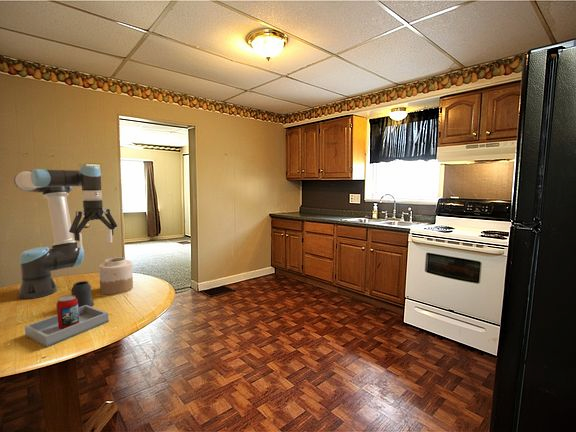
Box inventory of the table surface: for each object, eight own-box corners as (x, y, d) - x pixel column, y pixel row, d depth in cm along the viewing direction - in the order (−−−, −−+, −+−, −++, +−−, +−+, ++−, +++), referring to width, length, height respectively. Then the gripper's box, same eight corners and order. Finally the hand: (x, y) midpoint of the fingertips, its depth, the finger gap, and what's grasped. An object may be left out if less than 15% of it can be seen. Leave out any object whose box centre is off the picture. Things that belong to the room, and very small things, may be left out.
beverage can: (68, 331, 115) (66, 302, 113) (54, 329, 116) (51, 300, 115) (83, 323, 122) (81, 295, 120) (69, 321, 123) (67, 293, 121)
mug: (94, 307, 138) (92, 284, 137) (70, 312, 133) (68, 288, 132) (93, 298, 148) (92, 277, 147) (71, 302, 143) (69, 280, 142)
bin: (25, 336, 113) (24, 326, 112) (87, 313, 132) (86, 304, 132) (47, 347, 106) (46, 336, 105) (108, 321, 125) (108, 312, 124)
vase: (138, 288, 163) (137, 258, 161) (109, 297, 150) (107, 265, 148) (123, 282, 171) (121, 254, 169) (94, 291, 158) (92, 260, 156)
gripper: (66, 201, 124) (70, 251, 127) (123, 198, 146) (125, 241, 149) (57, 200, 128) (61, 249, 130) (114, 198, 150) (116, 239, 152)
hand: (95, 244), depth 139 cm, fingers open, 13 cm apart
